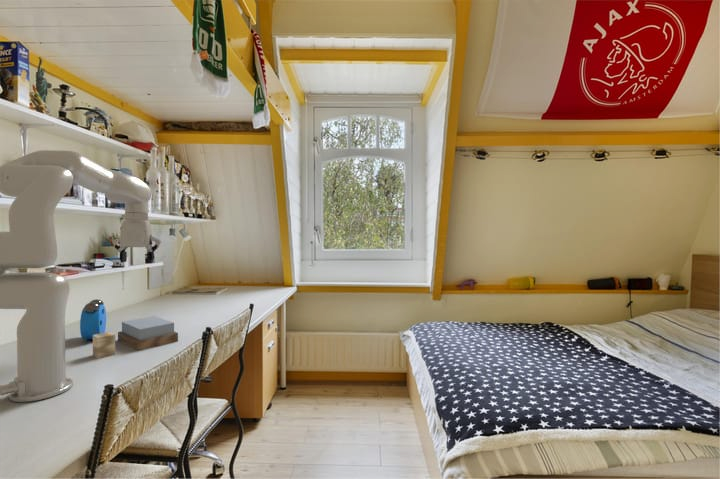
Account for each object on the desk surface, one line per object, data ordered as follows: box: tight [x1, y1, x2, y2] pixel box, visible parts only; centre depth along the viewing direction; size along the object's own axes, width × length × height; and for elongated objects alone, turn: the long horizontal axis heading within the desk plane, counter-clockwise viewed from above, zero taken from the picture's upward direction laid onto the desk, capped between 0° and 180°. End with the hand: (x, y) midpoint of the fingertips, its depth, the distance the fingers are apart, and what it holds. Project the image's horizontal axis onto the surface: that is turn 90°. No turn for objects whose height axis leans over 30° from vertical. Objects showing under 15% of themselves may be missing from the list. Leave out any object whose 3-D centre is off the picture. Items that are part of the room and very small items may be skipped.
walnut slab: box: [117, 330, 179, 351], centre depth 138 cm, size 14×19×4 cm
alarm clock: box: [79, 298, 107, 342], centre depth 140 cm, size 13×6×15 cm, turn 25°
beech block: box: [92, 331, 116, 359], centre depth 122 cm, size 5×5×7 cm
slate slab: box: [121, 315, 175, 340], centre depth 138 cm, size 12×17×4 cm
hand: (137, 262), depth 138 cm, fingers open, 9 cm apart
